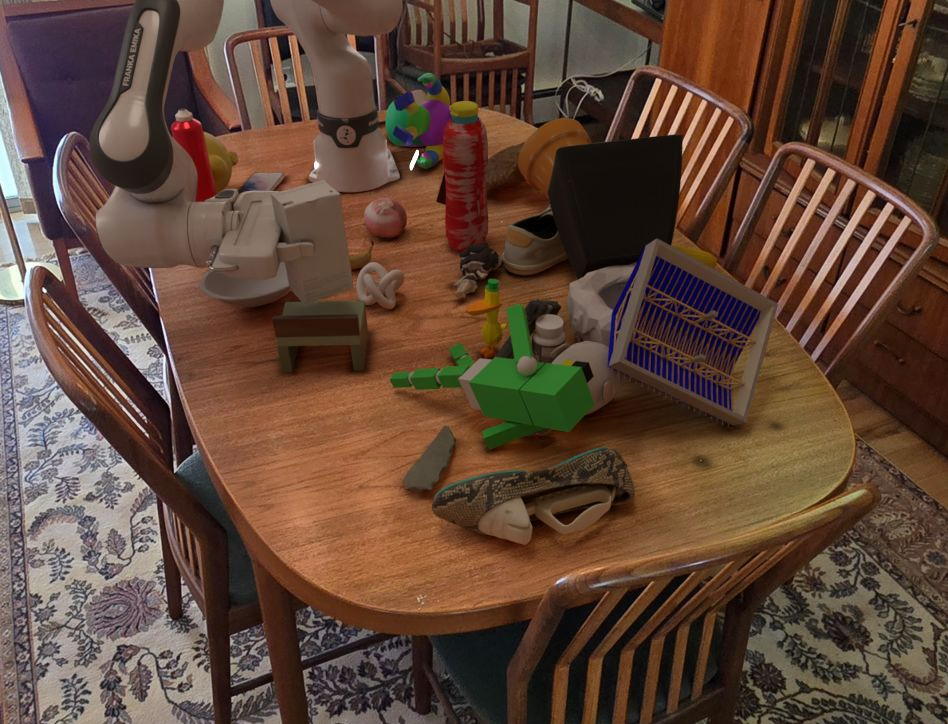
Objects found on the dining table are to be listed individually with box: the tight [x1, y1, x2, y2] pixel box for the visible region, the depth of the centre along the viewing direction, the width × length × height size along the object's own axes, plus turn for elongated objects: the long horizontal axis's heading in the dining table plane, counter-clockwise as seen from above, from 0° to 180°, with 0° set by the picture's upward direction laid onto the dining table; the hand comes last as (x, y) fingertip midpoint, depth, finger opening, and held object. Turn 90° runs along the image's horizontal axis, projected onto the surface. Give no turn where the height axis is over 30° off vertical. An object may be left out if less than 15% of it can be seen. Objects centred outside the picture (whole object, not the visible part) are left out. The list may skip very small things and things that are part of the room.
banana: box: [349, 239, 375, 271], centre depth 148 cm, size 10×2×4 cm, turn 128°
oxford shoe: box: [501, 204, 569, 276], centre depth 152 cm, size 11×29×8 cm, turn 137°
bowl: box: [566, 262, 637, 348], centre depth 127 cm, size 21×20×10 cm
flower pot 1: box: [518, 117, 592, 198], centre depth 162 cm, size 14×14×13 cm
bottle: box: [170, 108, 217, 202], centre depth 158 cm, size 5×5×20 cm
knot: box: [355, 261, 405, 310], centre depth 139 cm, size 8×8×6 cm
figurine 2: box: [452, 242, 504, 300], centre depth 144 cm, size 7×6×15 cm
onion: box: [363, 197, 408, 242], centre depth 157 cm, size 8×8×7 cm
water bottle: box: [435, 100, 489, 253], centre depth 148 cm, size 12×8×25 cm, turn 36°
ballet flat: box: [431, 446, 636, 546], centre depth 100 cm, size 8×25×9 cm
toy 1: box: [389, 303, 595, 451], centre depth 113 cm, size 14×15×30 cm
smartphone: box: [238, 171, 286, 194], centre depth 174 cm, size 7×1×15 cm
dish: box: [199, 262, 292, 308], centre depth 139 cm, size 18×14×5 cm
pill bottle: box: [531, 314, 566, 364], centre depth 123 cm, size 5×5×8 cm
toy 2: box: [527, 341, 624, 437], centre depth 114 cm, size 10×15×10 cm, turn 131°
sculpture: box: [203, 131, 239, 194], centre depth 168 cm, size 15×13×13 cm
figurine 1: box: [385, 72, 452, 170], centre depth 181 cm, size 18×14×20 cm
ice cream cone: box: [408, 89, 428, 105], centre depth 205 cm, size 5×5×15 cm
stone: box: [402, 425, 457, 494], centre depth 109 cm, size 13×2×5 cm
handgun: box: [494, 298, 562, 359], centre depth 127 cm, size 19×2×12 cm
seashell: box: [486, 141, 527, 193], centre depth 173 cm, size 19×9×15 cm
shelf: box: [271, 300, 369, 373], centre depth 127 cm, size 10×12×9 cm
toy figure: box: [465, 278, 508, 359], centre depth 125 cm, size 7×4×12 cm, turn 120°
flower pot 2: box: [547, 133, 683, 280], centre depth 135 cm, size 19×19×17 cm
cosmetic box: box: [271, 180, 355, 304], centre depth 120 cm, size 8×6×15 cm
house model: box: [607, 239, 779, 427], centre depth 115 cm, size 19×20×7 cm
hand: (318, 233), depth 119 cm, fingers closed on cosmetic box, 7 cm apart
